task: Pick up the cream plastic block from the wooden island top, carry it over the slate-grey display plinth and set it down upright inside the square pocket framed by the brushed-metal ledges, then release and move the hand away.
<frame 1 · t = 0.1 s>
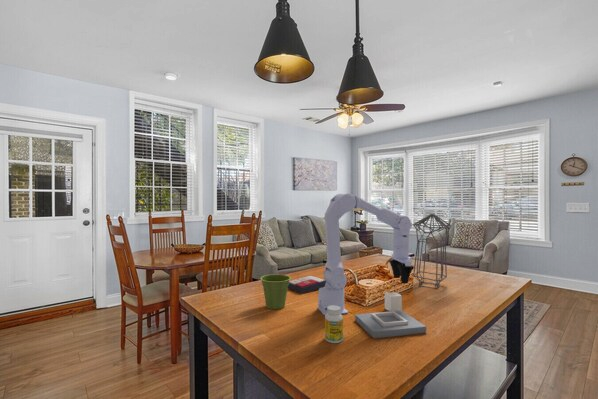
hand: (400, 280, 120), 10 cm above the kitchen island, tool pointing down, fingers open, 7 cm apart
supplement bottle: (333, 340, 92), on the kitchen island
cream block: (393, 310, 116), on the kitchen island
geometric lantern: (431, 286, 148), on the kitchen island
dark product box: (306, 289, 144), on the kitchen island
display plinth: (389, 326, 101), on the kitchen island
plant pot: (275, 307, 119), on the kitchen island
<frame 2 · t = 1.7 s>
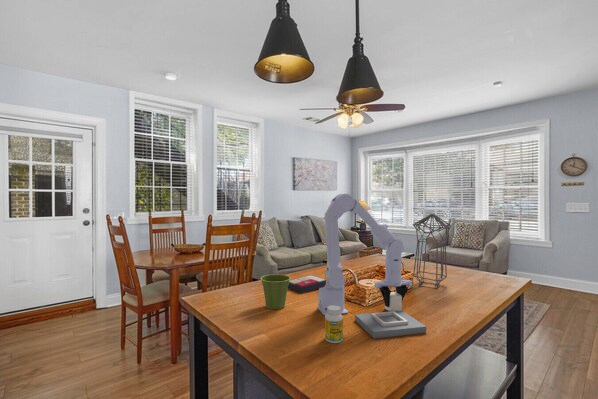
hand: (393, 305, 116), 2 cm above the kitchen island, tool pointing down, fingers closed on cream block, 4 cm apart
cream block: (393, 309, 116), on the kitchen island, touching gripper
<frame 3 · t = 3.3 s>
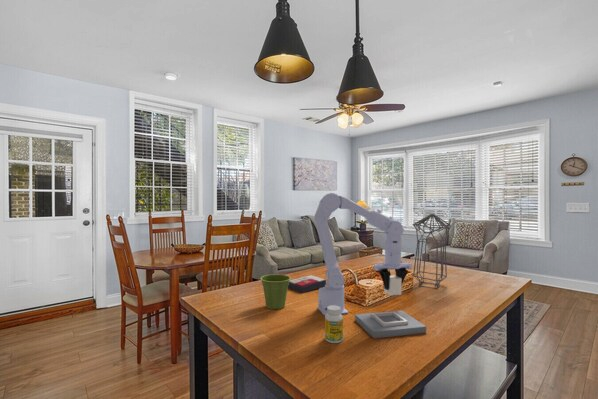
hand: (392, 288, 114), 9 cm above the kitchen island, tool pointing down, fingers closed on cream block, 4 cm apart
cream block: (392, 293, 114), point 7 cm above the kitchen island, touching gripper
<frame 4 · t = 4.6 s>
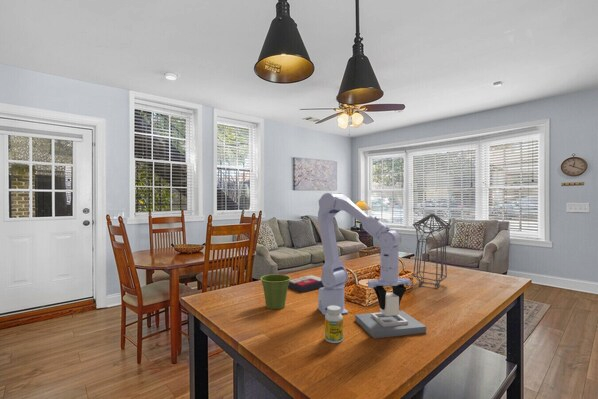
hand: (389, 308, 101), 6 cm above the kitchen island, tool pointing down, fingers closed on cream block, 4 cm apart
cream block: (389, 313, 101), point 4 cm above the kitchen island, touching gripper
when the fingers open (5 cm above the kitchen island, at t = 5.3 s): cream block drops 1 cm, resting on display plinth.
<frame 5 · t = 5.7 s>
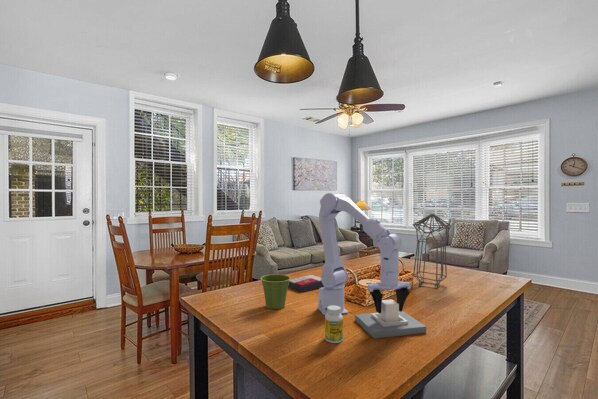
hand: (389, 311, 101), 5 cm above the kitchen island, tool pointing down, fingers open, 7 cm apart
cream block: (388, 320, 101), point 2 cm above the kitchen island, touching display plinth
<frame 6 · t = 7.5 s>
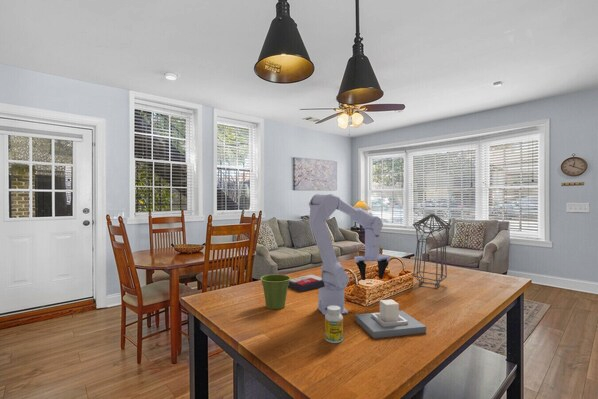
hand: (371, 279, 124), 9 cm above the kitchen island, tool pointing down, fingers open, 7 cm apart
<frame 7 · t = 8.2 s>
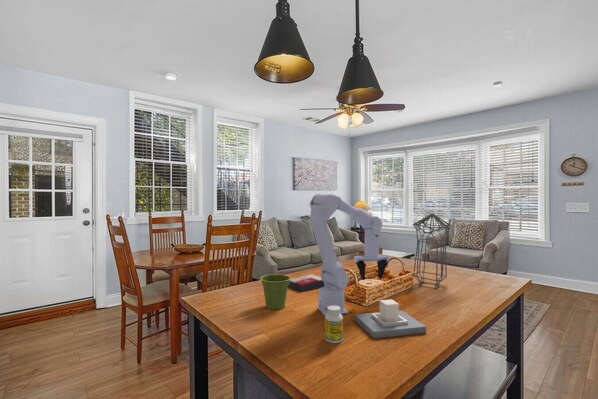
hand: (371, 278, 125), 9 cm above the kitchen island, tool pointing down, fingers open, 7 cm apart
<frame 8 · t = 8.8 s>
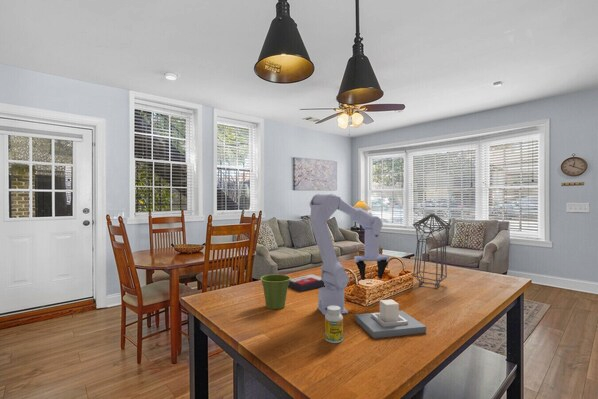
hand: (371, 278, 125), 9 cm above the kitchen island, tool pointing down, fingers open, 7 cm apart
at the end: cream block 0.0 cm off-centre on the display plinth, point 2.0 cm above the display plinth's base; cream block tilted 0°; the gripper is holding nothing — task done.
